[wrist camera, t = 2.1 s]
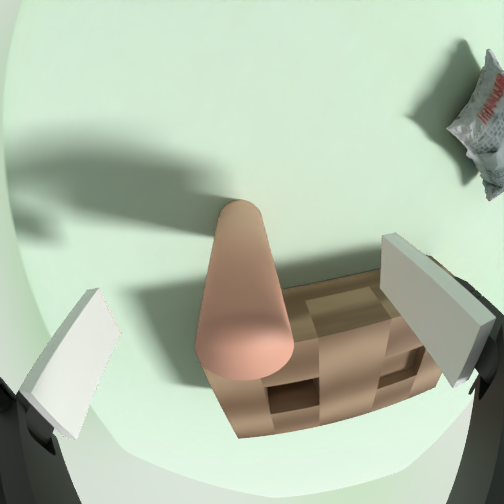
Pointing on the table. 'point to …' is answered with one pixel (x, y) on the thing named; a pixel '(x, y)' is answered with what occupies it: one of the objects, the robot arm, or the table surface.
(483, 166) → the packaged food
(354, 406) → the bore block
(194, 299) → the table surface
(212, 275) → the dowel
